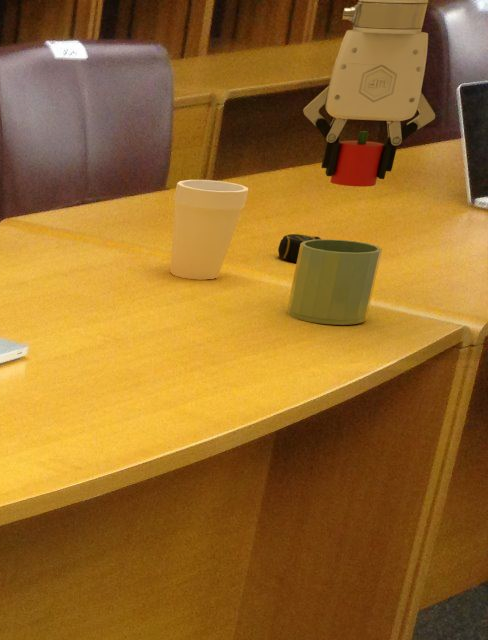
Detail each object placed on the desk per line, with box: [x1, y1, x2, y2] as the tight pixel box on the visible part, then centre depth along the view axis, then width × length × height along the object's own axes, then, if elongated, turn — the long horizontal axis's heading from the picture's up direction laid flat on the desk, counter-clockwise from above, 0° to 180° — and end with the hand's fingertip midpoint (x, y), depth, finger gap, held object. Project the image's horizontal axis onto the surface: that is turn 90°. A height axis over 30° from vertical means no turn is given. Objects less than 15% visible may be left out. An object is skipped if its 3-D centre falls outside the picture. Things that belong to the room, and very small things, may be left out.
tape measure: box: [277, 233, 322, 263], centre depth 229 cm, size 7×7×4 cm
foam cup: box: [169, 179, 249, 280], centre depth 217 cm, size 10×9×13 cm
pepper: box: [329, 130, 384, 188], centre depth 191 cm, size 5×5×6 cm
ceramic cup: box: [286, 238, 383, 326], centre depth 197 cm, size 9×9×9 cm
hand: (354, 174), depth 192 cm, fingers closed on pepper, 5 cm apart
